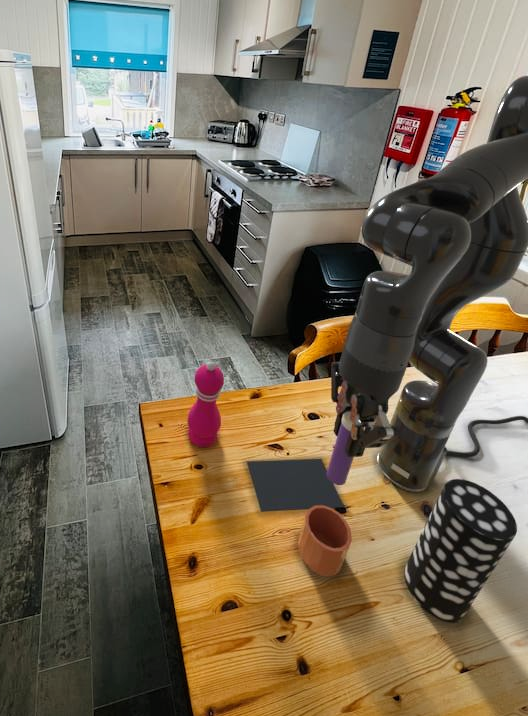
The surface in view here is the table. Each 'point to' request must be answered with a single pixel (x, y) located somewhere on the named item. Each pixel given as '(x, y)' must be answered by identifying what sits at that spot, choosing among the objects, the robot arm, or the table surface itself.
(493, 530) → the white-spotted black cylinder
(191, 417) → the pepper mill
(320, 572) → the cup
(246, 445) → the table surface
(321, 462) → the mat
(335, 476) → the glue stick
